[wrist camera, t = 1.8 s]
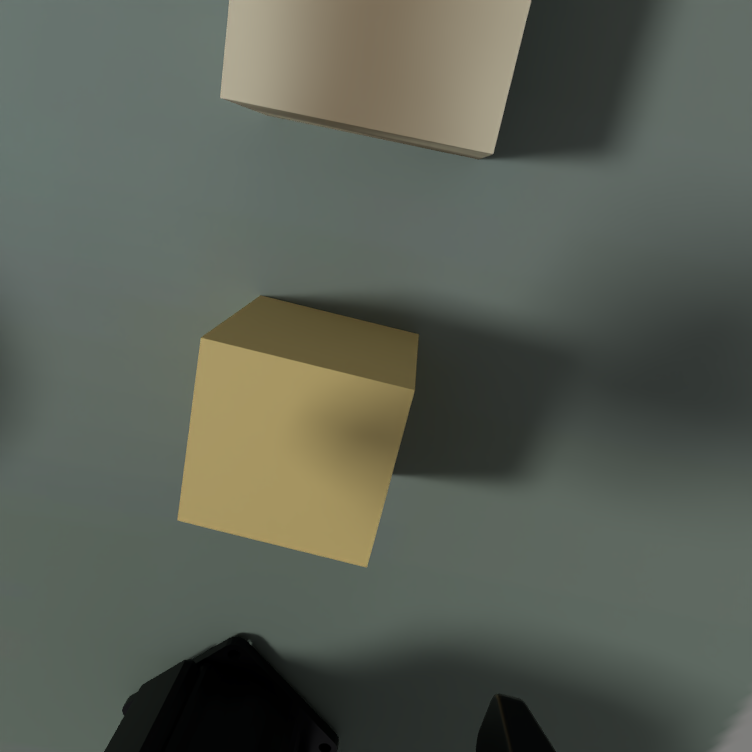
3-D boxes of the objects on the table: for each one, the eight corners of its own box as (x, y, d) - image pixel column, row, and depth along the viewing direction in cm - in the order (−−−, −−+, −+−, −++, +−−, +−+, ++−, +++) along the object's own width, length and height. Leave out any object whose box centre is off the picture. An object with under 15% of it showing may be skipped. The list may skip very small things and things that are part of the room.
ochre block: (418, 333, 18) (414, 390, 13) (381, 473, 19) (367, 567, 15) (261, 294, 18) (200, 337, 13) (238, 437, 20) (177, 520, 15)
